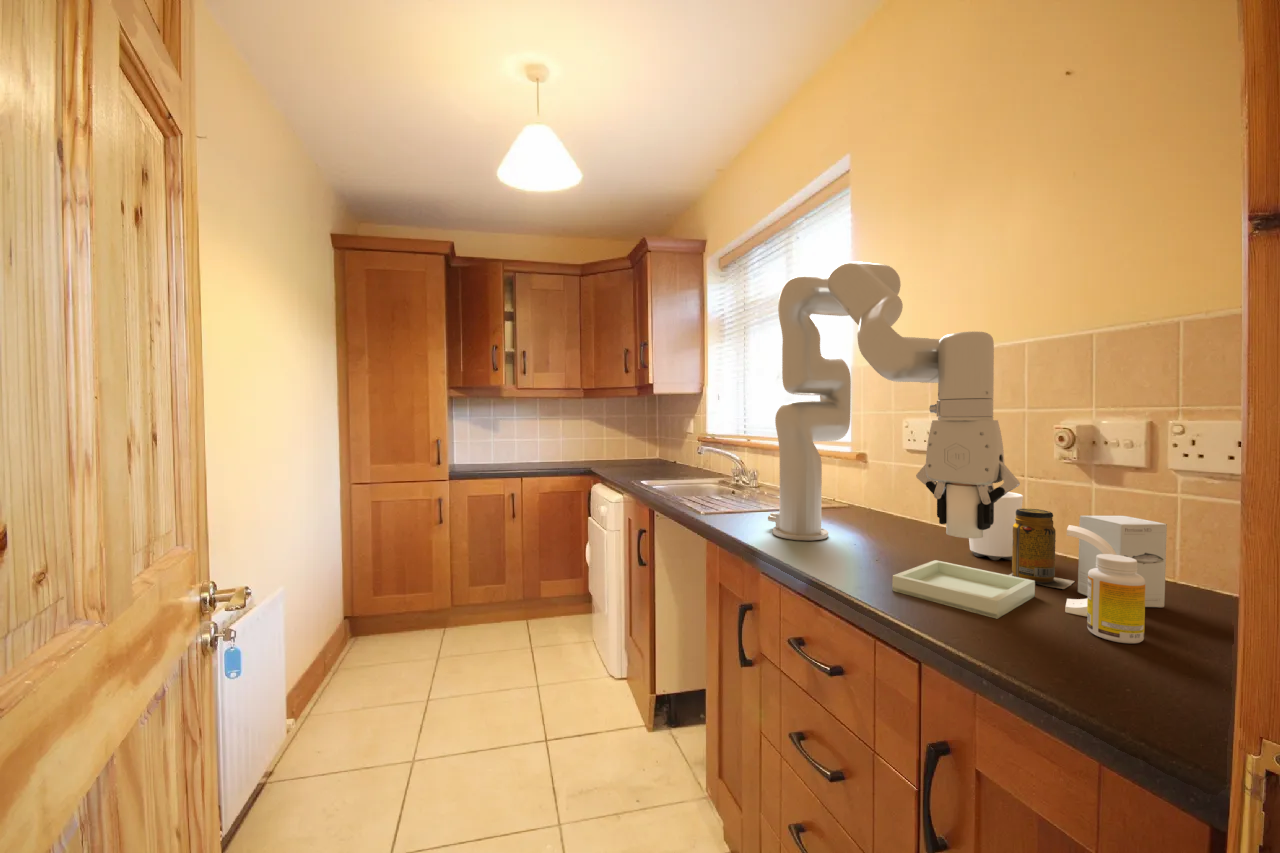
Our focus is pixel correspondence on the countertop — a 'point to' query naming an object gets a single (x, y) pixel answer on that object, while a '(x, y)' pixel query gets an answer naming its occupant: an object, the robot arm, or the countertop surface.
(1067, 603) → the headphone stand
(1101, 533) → the supplement box
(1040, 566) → the condiment
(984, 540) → the cup
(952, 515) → the shaker
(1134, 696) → the countertop surface
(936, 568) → the tray
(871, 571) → the countertop surface
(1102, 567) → the supplement bottle
